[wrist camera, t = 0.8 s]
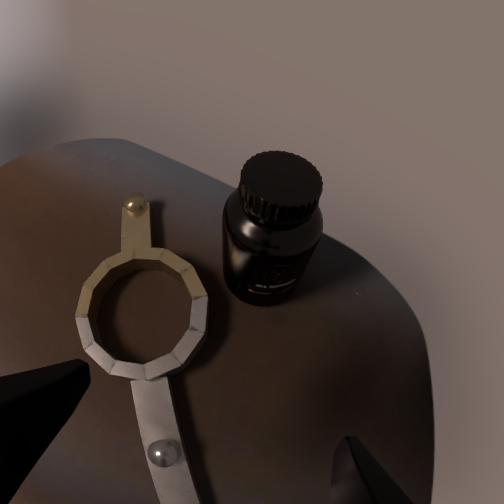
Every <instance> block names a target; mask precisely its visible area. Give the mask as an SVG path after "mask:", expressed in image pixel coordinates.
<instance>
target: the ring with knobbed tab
mask: <svg viewBox="0 0 504 504" xmlns="http://www.w3.org/2000/svg"><path fill="white" fill-rule="evenodd" d="M124 205H125V207H122V230H121V252H120V253H118V254H116V255H114V256H112V257H109V258H107V259H105V261H103V262H102V263H101V264H100V265H99V266H98V268H97V269H96V270H95V271H94V272H93V273H92V275H91V276H90V277H89V278H88V279H87V281H86V282H85V283H84V285H85V286H83V287H82V291H81V295H80V299H79V303H78V307H77V311H76V317H79V316H80V317H81V315H82V316H84V315H85V314H86V313H87V314H86V316H85V317H84V318H87V316H88V317H90V318H91V319H92V320H93V321H95V322H96V323H97V318H98V314H99V309H100V304H101V300H102V297H103V296H104V295H105V294H106V293H107V291H108V290H109V289H110V288H111V286H112V285H113V284H114V283H115V282H116V280H117V279H119V278H121V277H124V276H126V275H128V274H130V273H133V272H135V271H137V270H139V269H143V270H158V271H165V272H167V273H168V274H170V275H171V276H173V277H174V278H176V279H177V280H179V281H180V282H182V283H183V284H185V287H186V289H187V291H188V293H189V295H190V297H191V299H194V297H195V296H197V297H198V298H200V297H201V298H202V297H203V296H208V295H207V293H206V291H205V289H204V287H203V285H202V283H201V281H200V279H199V277H198V275H197V273H196V271H195V269H194V267H193V266H192V265H191V264H190V263H188V262H187V261H185V260H183V259H182V258H180V257H178V256H177V255H175V254H174V253H172V252H170V251H169V250H167V249H165V248H154V247H153V230H152V209H151V206H150V203H149V202H147V203H146V202H145V198H144V195H143V194H142V193H140V192H133V193H130V194H129V195H127V196H126V198H125V199H124ZM193 296H194V297H193ZM199 296H200V297H199ZM197 297H195V299H194V301H195V300H196V299H197ZM83 314H84V315H83ZM82 318H83V317H82Z"/></svg>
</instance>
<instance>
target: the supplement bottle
mask: <svg viewBox="0 0 504 504" xmlns="http://www.w3.org/2000/svg"><path fill="white" fill-rule="evenodd" d="M322 186H323V182H322V177H321V176H320V173H319V171H317V169H316V167H315V166H313V165H312V163H310V162H308V161H307V160H306V159H304V158H302V157H300V156H299V155H295V154H293V153H288V152H285V151H268V152H262V153H258V154H256V155H255V156H252V157H251V159H249V160H247V162H246V163H245V164H244V166H243V169H242V170H241V178H240V183H239V187H238V188H236V189H235V190H234V191H233V192H232V193H231V195H230V196H229V197H228V199H227V201H226V203H225V206H224V209H223V218H222V248H223V275H224V279H225V282H226V285H227V287H228V288H229V290H230V291H231V292H232V293H233V294H234V295H235V296H236V297H237V298H238V299H240V300H241V301H243V302H245V303H248V304H250V305H254V306H271V305H275V304H277V303H280V302H282V301H283V300H285V299H286V298H287V297H289V296H290V294H291V293H292V292H293V291H294V289H295V288H296V286H297V284H298V282H299V280H300V278H301V276H302V274H303V272H304V270H305V268H306V266H307V264H308V262H309V260H310V258H311V256H312V254H313V252H314V250H315V248H316V246H317V244H318V242H319V240H320V237H321V234H322V230H323V218H322V213H321V211H320V208H319V206H318V203H319V198H320V196H321V193H322V189H323V188H322Z"/></svg>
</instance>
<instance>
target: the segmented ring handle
mask: <svg viewBox="0 0 504 504" xmlns="http://www.w3.org/2000/svg"><path fill="white" fill-rule="evenodd" d="M193 297H194V296H193ZM195 297H197V296H195ZM195 297H194V299H195ZM199 297H200V296H199ZM194 299H192V308H191V318H190V328H189V329H188V330H187V332H186V333H185V335H184V336H183V337H182V339H181V340H180V341H179V343H178V344H177V346H176V347H175V348H174V350H173V351H172V352H171V353H169V354H167V355H165V356H162V357H160V358H158V359H155V360H153V361H151V362H148V363H146V364H144V365H143V364H136V363H129V362H123V361H119V360H118V359H117V358H116V357H115V356H113V355H112V354H111V353H110V352H109V351H108V350H107V349H106V348H105V347H104V345H103V342H102V339H101V336H100V333H99V329H98V326H97V323H96V322H95V321H93V320H92V319H91V318H90V317H88V316H87V318H84V317H85V316H86V314H87V313H86V314H85V315H84V314H83V315H84V316H82V315H81V317H80V316H79V317H76V323H77V326H78V330H79V334H80V338H81V341H82V345H83V348H84V349H85V351H86V352H87V353H88V354H89V355H90V356H91V357H92V358H93V359H94V360H95V361H96V362H97V363H98V364H99V365H100V366H101V367H102V368H103V369H104V370H106V371H107V372H108V373H109V374H111V375H114V376H117V377H119V378H125V379H130V380H136V381H131V386H132V392H133V398H134V404H135V409H136V414H137V419H138V424H139V428H140V433H141V437H142V441H143V446H144V450H145V453H146V457H147V461H148V465H149V468H150V472H151V475H152V478H153V482H154V485H155V488H156V491H157V494H158V497H159V500H160V503H161V504H203V503H202V500H201V497H200V494H199V491H198V487H197V484H196V481H195V478H194V475H193V471H192V468H191V464H190V461H189V457H188V454H187V450H186V446H185V443H184V439H183V435H182V431H181V427H180V422H179V418H178V414H177V409H176V405H175V400H174V395H173V390H172V385H171V380H170V378H168V377H169V376H171V375H173V374H175V373H178V372H180V371H182V370H185V367H186V368H187V367H188V366H189V364H190V363H191V361H192V360H193V358H194V357H195V356H196V354H197V353H198V351H199V350H200V348H201V347H202V346H203V344H204V343H205V341H206V338H207V333H208V320H209V307H210V305H209V300H208V296H203V297H202V298H201V297H200V298H198V297H197V299H196V300H195V301H194ZM82 317H83V318H82ZM184 366H185V367H184Z"/></svg>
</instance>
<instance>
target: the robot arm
mask: <svg viewBox="0 0 504 504" xmlns="http://www.w3.org/2000/svg"><path fill="white" fill-rule="evenodd" d="M90 382H91V377H90V370H89V365H88V363H87V362H85V361H83V360H81V359H74V360H71V361H67V362H63V363H59V364H55V365H51V366H47V367H42V368H38V369H34V370H30V371H25V372H21V373H16V374H11V375H7V376H2V377H0V504H8V503H9V502H10V500H11V499H12V497H13V496H14V495H15V493H16V492H17V490H18V489H19V487H20V485H21V484H22V483H23V481H24V480H25V478H26V477H27V475H28V474H29V472H30V471H31V470H32V468H33V467H34V465H35V464H36V463H37V461H38V460H39V458H40V457H41V456H42V454H43V453H44V452H45V450H46V449H47V447H48V446H49V445H50V443H51V442H52V441H53V439H54V438H55V437H56V435H57V434H58V433H59V431H60V430H61V429H62V427H63V426H64V425H65V423H66V422H67V421H68V419H69V418H70V417H71V415H72V414H73V412H74V411H75V409H76V407H77V406H78V404H79V402H80V400H81V399H82V397H83V395H84V394H85V392H86V390H87V389H88V387H89V385H90ZM331 504H415V503H414V502H413V501H411V499H410V498H409V497H408V496H407V495H406V494H405V492H404V491H403V490H402V489H401V488H400V487H399V486H398V485H397V483H396V482H395V481H394V480H393V479H392V478H391V477H390V475H389V474H388V473H387V472H386V471H385V470H384V468H383V467H382V466H381V465H380V464H379V463H378V461H377V460H376V459H375V458H374V457H373V456H372V454H371V453H370V452H369V451H368V450H367V448H366V447H365V446H364V445H363V444H362V443H361V441H360V440H359V439H358V438H357V437H351V436H346V437H344V438H343V440H342V441H341V443H340V444H339V445H338V447H337V448H336V450H335V452H334V457H333V469H332V480H331Z"/></svg>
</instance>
